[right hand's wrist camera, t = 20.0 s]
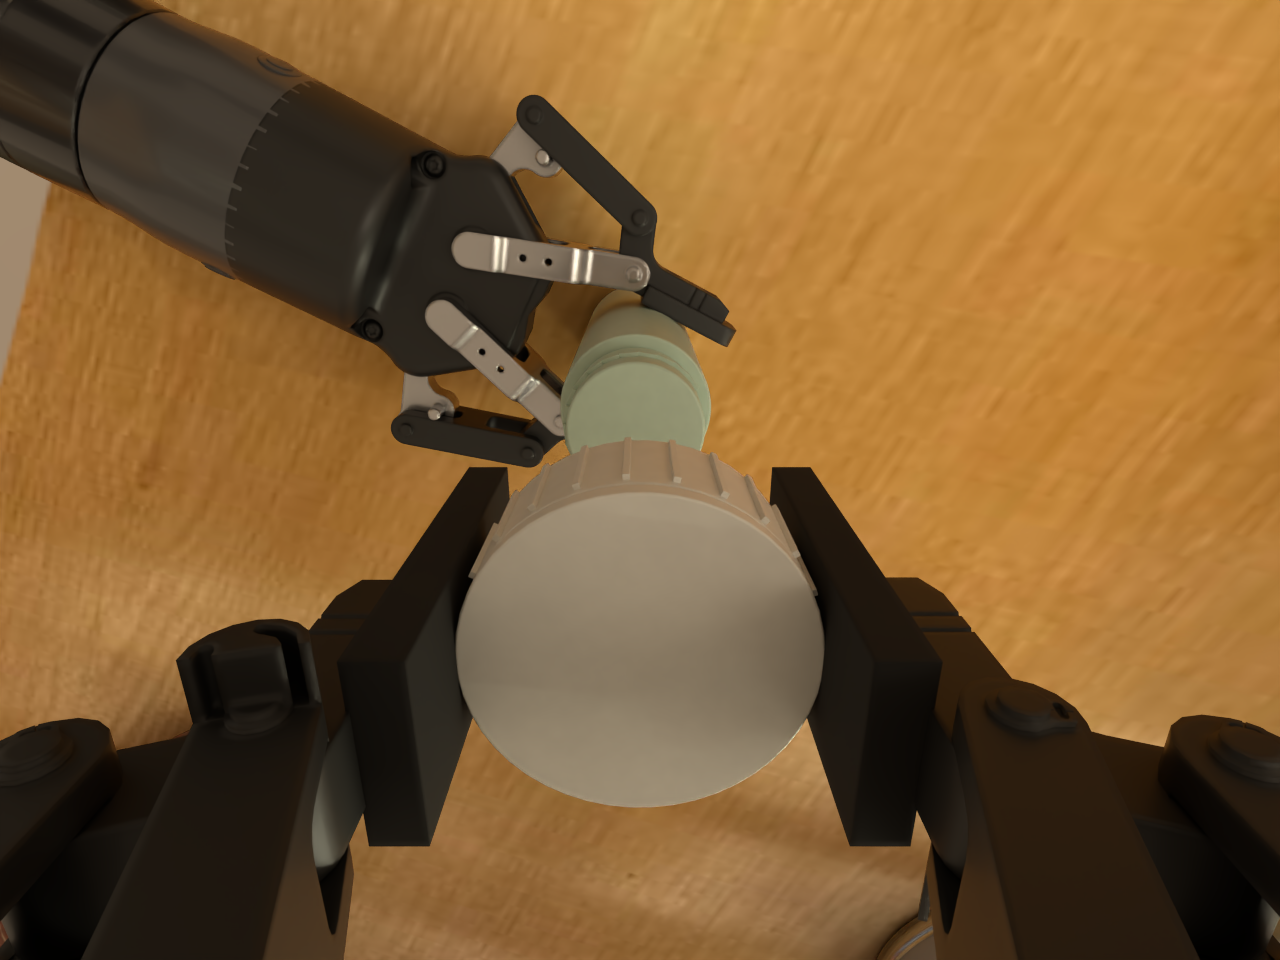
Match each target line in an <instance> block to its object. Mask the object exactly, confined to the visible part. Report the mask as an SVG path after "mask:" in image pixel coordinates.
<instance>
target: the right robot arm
mask: <svg viewBox="0 0 1280 960" xmlns="http://www.w3.org/2000/svg"><path fill="white" fill-rule="evenodd" d="M509 500H510V499H509V485H508V470H507V467H469V468H468V470H467V471H466V473H465V474H464V476H463V477H462V479H461V480H460V482H459V483H458V485H457V486H456V487H455V489H454V490H453V492H452V493H451V495H450V496H449V498H448V499H447V501H446V502H445V504H444V505H443V507H442V508H441V509H440V511H439V512H438V514H437V515H436V517H435V518H434V520H433V521H432V523H431V524H430V526H429V527H428V529H427V530H426V531H425V533H424V534H423V536H422V537H421V539H420V540H419V542H418V543H417V545H416V546H415V548H414V549H413V551H412V552H411V553H410V555H409V556H408V558H407V559H406V561H405V562H404V564H403V565H402V567H401V568H400V570H399V571H398V573H397V574H396V575H395V577H394V578H393V580H361V581H360V582H358V583H357V584H355V585H353V586H352V587H350V588H349V589H347V590H345V591H344V592H342V593H341V594H339V595H337V596H336V597H335V599H334V600H333V601H332V602H331V604H330V605H329V606H328V607H327V609H326V610H325V611H324V612H323V614H322V615H321V619H318V620H317V621H316V622H315V624H314V625H313V626H312V627H311V629H310V630H307V629H306V628H305V627H303V626H302V625H301V624H299V623H298V622H293V621H288V620H284V619H265V620H254V621H250V622H245V623H240V624H236V625H232V626H229V627H227V628H224V629H222V630H219V631H216V632H214V633H211V634H209V635H207V636H205V637H204V638H202V639H200V640H199V641H197V642H196V643H194V644H192V645H191V646H189V647H188V648H187V649H186V650H185V651H184V652H183V653H182V654H181V656H180V657H179V658H178V659H177V660H176V662H177V666H178V670H179V673H180V677H181V681H182V685H183V688H184V692H185V696H186V699H187V703H188V707H189V711H190V714H191V718H192V722H193V725H192V727H191V729H190V731H189V733H188V735H185V736H182V737H178V738H174V739H170V740H165V741H160V742H155V743H150V744H145V745H141V746H136V747H131V748H126V749H121V750H116V748H115V745H114V742H113V739H112V736H111V733H110V730H109V728H107V727H106V726H105V725H104V724H102V723H101V722H100V721H98V720H90V719H82V718H75V719H67V720H59V721H51V722H47V723H43V724H39V725H38V726H36V727H35V726H32V727H29V728H26V729H23V730H21V731H19V732H17V733H15V734H14V735H12V736H10V737H7V738H5V739H3V740H1V741H0V921H1V922H2V924H3V926H4V929H5V931H6V933H7V935H8V939H7V940H6V941H5V942H4V943H3V945H2V946H1V947H0V960H344V952H345V943H346V935H347V927H348V919H349V911H350V902H351V894H352V886H353V878H354V871H353V863H352V857H351V851H350V846H349V842H350V840H351V838H352V835H353V833H354V831H355V829H356V827H357V825H358V823H359V820H360V818H361V816H362V814H364V820H365V826H366V831H367V837H368V843H369V846H430V844H431V841H432V838H433V835H434V832H435V829H436V826H437V823H438V820H439V817H440V814H441V811H442V808H443V805H444V802H445V799H446V796H447V793H448V790H449V787H450V784H451V781H452V778H453V775H454V772H455V769H456V766H457V763H458V760H459V757H460V754H461V751H462V748H463V745H464V742H465V739H466V736H467V733H468V730H469V727H470V724H471V721H472V718H473V716H472V715H471V713H470V710H469V708H468V706H467V704H466V701H465V699H464V697H463V694H462V690H461V686H460V683H459V679H458V672H457V663H456V653H455V639H456V629H457V624H458V619H459V614H460V611H461V608H462V605H463V603H464V600H465V597H466V594H467V592H468V590H469V587H470V585H471V583H472V581H473V579H472V578H470V577H468V576H469V574H470V572H471V569H472V567H473V565H474V563H475V561H476V559H477V557H478V555H479V553H480V551H481V549H482V547H483V544H484V542H485V540H486V538H487V536H488V534H489V532H490V530H491V528H492V526H493V524H494V523H496V524H499V522H500V520H501V517H502V515H503V513H504V511H505V509H506V507H507V504H508V502H509ZM774 504H776V506H777V507H778V509H779V511H780V513H781V515H782V517H783V519H784V521H785V523H786V526H787V528H788V530H789V532H790V534H791V536H792V538H793V540H794V542H795V544H796V547H797V549H798V551H799V553H800V556H801V558H802V560H803V562H804V564H805V566H806V568H807V570H808V572H809V574H810V577H811V579H812V581H813V583H814V585H815V587H816V589H817V592H818V595H817V596H814V597H815V599H816V602H817V605H818V607H819V610H820V614H821V619H822V623H823V628H824V637H825V649H824V659H823V668H822V677H821V683H820V687H819V691H818V694H817V697H816V699H815V701H814V704H813V706H812V709H811V711H810V713H809V715H808V716H807V719H808V722H809V725H810V728H811V731H812V734H813V737H814V740H815V743H816V746H817V749H818V752H819V755H820V758H821V761H822V764H823V767H824V770H825V773H826V776H827V779H828V782H829V785H830V788H831V791H832V794H833V797H834V800H835V803H836V806H837V809H838V812H839V815H840V818H841V821H842V824H843V827H844V830H845V833H846V836H847V839H848V842H849V845H850V846H911V840H912V834H913V829H914V823H915V817H916V812H917V811H918V814H919V816H920V818H921V820H922V822H923V824H924V826H925V829H926V831H927V833H928V835H929V837H930V839H931V846H930V851H929V857H928V862H927V867H926V873H925V878H924V883H923V888H922V894H921V899H920V905H919V912H918V917H916V918H915V919H913V920H912V921H910V922H909V923H907V924H906V925H905V926H903V927H902V928H901V929H900V930H899V931H898V932H896V933H895V934H894V935H893V936H892V937H891V939H890V940H889V941H888V942H887V943H886V945H885V946H884V947H883V949H882V950H881V952H880V954H879V956H878V958H877V960H1280V943H1279V942H1278V941H1277V940H1276V939H1275V937H1274V936H1273V935H1272V934H1273V932H1274V929H1275V927H1276V925H1277V922H1278V920H1279V918H1280V737H1278V736H1276V735H1274V734H1272V733H1270V732H1268V731H1266V730H1264V729H1263V728H1261V727H1258V726H1255V725H1253V724H1250V723H1247V722H1246V723H1243V722H1242V721H1240V720H1235V719H1231V718H1224V717H1216V716H1208V715H1196V716H1188V717H1182V718H1180V719H1179V720H1178V721H1176V722H1175V723H1174V724H1173V725H1171V728H1170V731H1169V734H1168V737H1167V740H1166V743H1165V746H1164V747H1160V746H1155V745H1150V744H1145V743H1140V742H1135V741H1131V740H1126V739H1121V738H1116V737H1111V736H1106V735H1102V734H1099V733H1095V732H1091V730H1090V728H1089V726H1088V724H1087V722H1086V721H1085V720H1084V718H1083V717H1082V716H1081V714H1080V713H1079V712H1078V711H1077V709H1076V708H1075V707H1074V706H1072V705H1071V704H1069V703H1068V702H1067V701H1065V700H1064V699H1062V698H1061V697H1060V696H1058V695H1057V694H1055V693H1052V692H1050V691H1048V690H1046V689H1043V688H1041V687H1039V686H1037V685H1034V684H1031V683H1027V682H1023V681H1019V680H1015V679H1012V678H1011V677H1010V676H1009V674H1008V673H1007V672H1006V671H1005V669H1004V668H1003V667H1002V666H1001V664H1000V663H999V662H998V661H997V659H996V658H995V657H994V656H993V655H992V653H991V652H990V651H989V650H988V648H987V647H986V646H985V645H984V643H983V642H982V641H981V640H980V638H979V637H978V636H977V635H976V633H975V632H971V627H970V626H969V625H968V624H967V622H966V621H965V620H964V619H963V617H962V616H959V614H958V613H959V612H958V611H957V610H956V609H955V607H954V606H953V605H952V604H951V602H950V601H949V600H948V599H947V597H946V596H945V595H944V594H943V593H942V592H940V591H938V590H937V589H935V588H934V587H932V586H930V585H929V584H927V583H925V582H924V581H922V580H921V579H919V578H885V576H884V575H883V573H882V572H881V570H880V569H879V567H878V566H877V564H876V563H875V562H874V560H873V559H872V557H871V556H870V554H869V553H868V551H867V550H866V548H865V547H864V545H863V544H862V542H861V541H860V540H859V538H858V537H857V535H856V534H855V532H854V531H853V529H852V528H851V526H850V525H849V523H848V522H847V520H846V519H845V518H844V516H843V515H842V513H841V512H840V510H839V509H838V507H837V506H836V504H835V503H834V501H833V500H832V498H831V497H830V495H829V494H828V493H827V491H826V490H825V488H824V487H823V485H822V484H821V482H820V481H819V479H818V478H817V476H816V475H815V473H814V472H813V471H812V469H811V468H810V467H772V478H771V492H770V505H771V506H773V505H774ZM930 909H931V910H930Z"/></svg>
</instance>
